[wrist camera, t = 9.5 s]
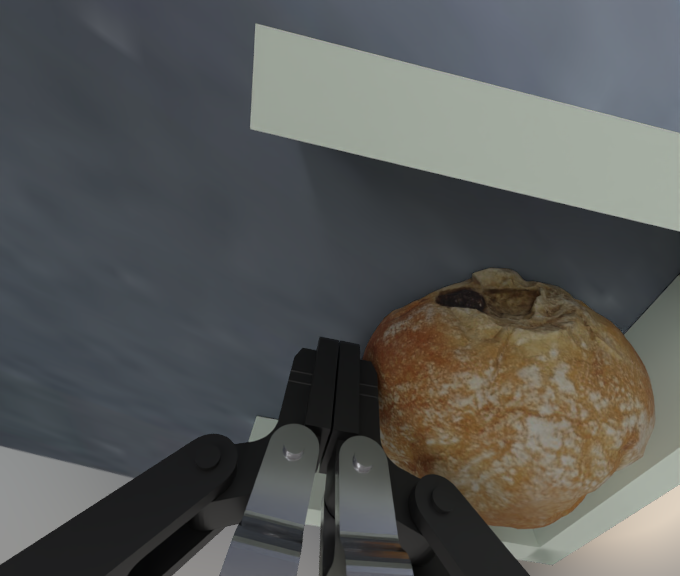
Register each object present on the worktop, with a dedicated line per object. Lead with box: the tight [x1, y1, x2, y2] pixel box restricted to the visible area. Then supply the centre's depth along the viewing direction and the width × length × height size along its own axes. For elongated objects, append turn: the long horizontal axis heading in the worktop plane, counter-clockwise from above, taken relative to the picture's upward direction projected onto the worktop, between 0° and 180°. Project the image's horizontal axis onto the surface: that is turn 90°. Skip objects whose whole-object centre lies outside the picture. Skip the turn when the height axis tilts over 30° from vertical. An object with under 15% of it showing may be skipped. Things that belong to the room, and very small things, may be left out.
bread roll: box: [362, 268, 656, 529], centre depth 13 cm, size 10×10×8 cm
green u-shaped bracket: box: [248, 24, 680, 565], centre depth 12 cm, size 18×16×4 cm
